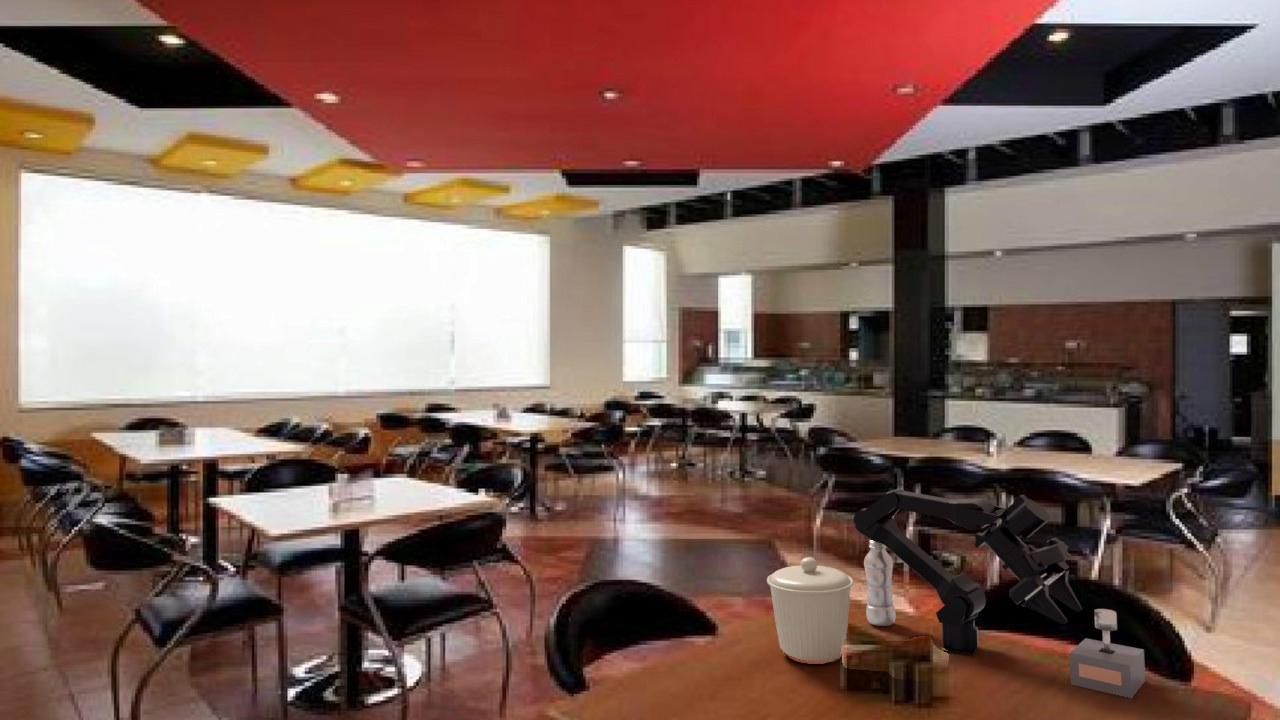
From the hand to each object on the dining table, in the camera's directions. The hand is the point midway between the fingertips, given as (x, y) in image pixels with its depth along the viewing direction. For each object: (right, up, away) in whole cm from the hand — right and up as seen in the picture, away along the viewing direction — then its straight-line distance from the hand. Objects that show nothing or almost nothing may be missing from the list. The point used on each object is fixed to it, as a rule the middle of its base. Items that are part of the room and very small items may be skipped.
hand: (1073, 616), depth 155 cm
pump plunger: (+4, -7, -4) cm, 9 cm away
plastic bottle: (-27, -13, +33) cm, 45 cm away
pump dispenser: (+5, -11, -4) cm, 13 cm away
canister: (-47, -14, +15) cm, 52 cm away
